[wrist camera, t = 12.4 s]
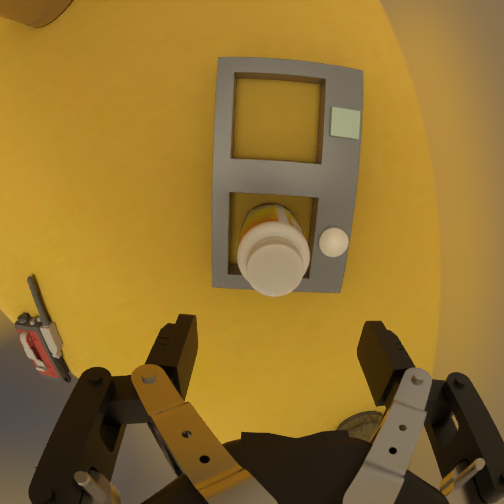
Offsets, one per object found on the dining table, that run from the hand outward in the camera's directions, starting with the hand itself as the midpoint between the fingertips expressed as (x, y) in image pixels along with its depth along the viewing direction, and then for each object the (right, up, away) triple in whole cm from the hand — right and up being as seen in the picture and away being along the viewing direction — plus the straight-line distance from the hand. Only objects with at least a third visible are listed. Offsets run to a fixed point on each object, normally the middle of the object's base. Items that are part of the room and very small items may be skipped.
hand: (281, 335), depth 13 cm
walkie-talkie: (-35, -9, +23) cm, 43 cm away
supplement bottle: (0, +6, +16) cm, 18 cm away
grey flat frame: (+2, +11, +14) cm, 18 cm away
